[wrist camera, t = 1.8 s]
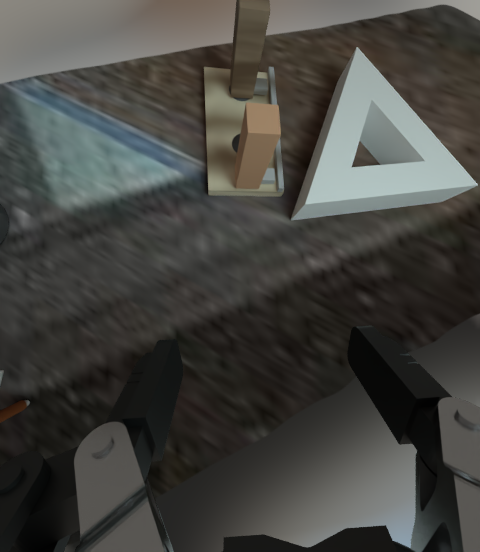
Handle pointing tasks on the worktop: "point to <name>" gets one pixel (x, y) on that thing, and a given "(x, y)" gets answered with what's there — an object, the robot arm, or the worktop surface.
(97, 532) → the robot arm
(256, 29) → the fixed leg
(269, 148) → the block
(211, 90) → the board
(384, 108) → the triangle block
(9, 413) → the magnifying glass
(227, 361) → the worktop surface
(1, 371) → the skincare box
